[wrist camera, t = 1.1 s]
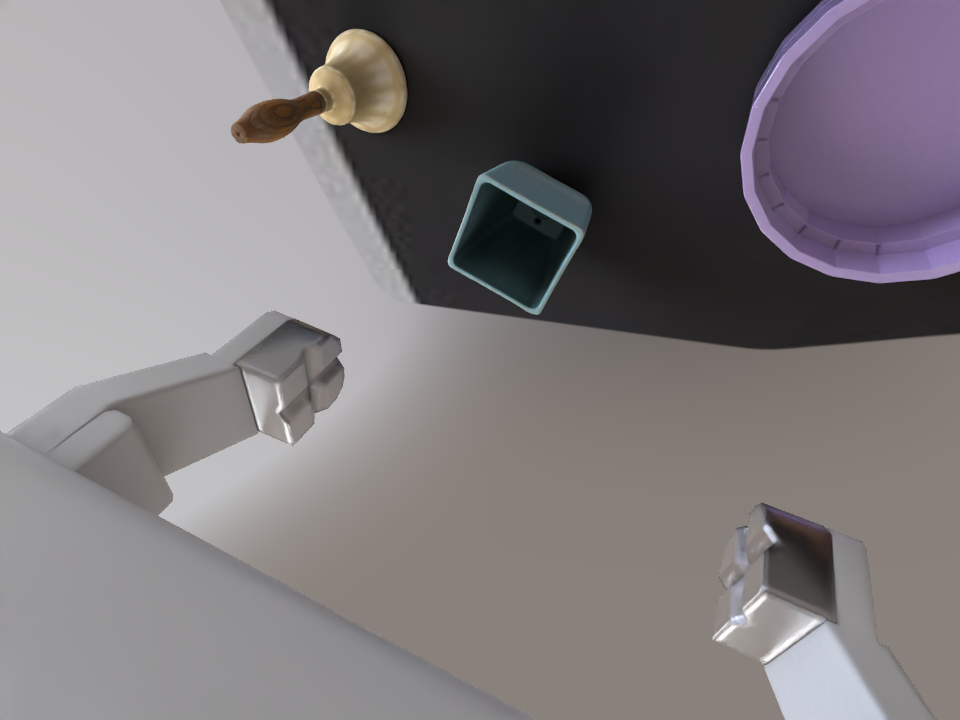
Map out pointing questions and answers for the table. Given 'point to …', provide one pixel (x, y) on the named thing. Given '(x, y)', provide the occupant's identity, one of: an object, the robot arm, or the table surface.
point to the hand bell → (337, 92)
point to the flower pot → (520, 233)
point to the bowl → (861, 141)
